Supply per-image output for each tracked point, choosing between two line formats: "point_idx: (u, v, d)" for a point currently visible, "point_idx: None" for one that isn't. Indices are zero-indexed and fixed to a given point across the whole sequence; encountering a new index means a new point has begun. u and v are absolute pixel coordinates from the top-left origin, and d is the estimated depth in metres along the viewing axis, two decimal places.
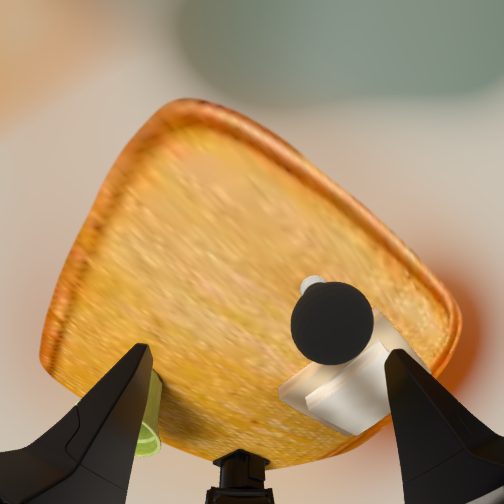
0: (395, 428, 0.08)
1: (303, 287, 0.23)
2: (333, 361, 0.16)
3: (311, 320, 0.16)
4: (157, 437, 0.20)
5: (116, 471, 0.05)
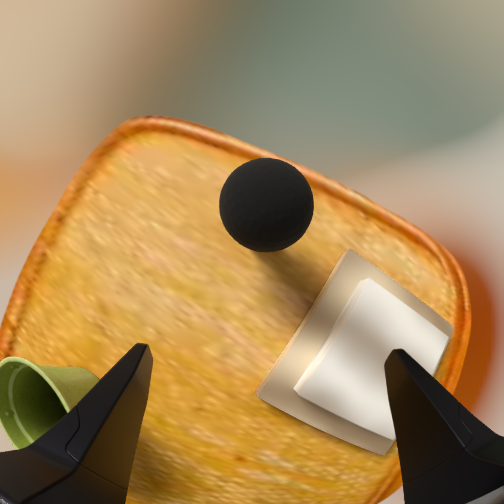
0: (395, 428, 0.08)
1: None
2: (267, 207, 0.14)
3: (230, 177, 0.16)
4: None
5: (116, 471, 0.05)
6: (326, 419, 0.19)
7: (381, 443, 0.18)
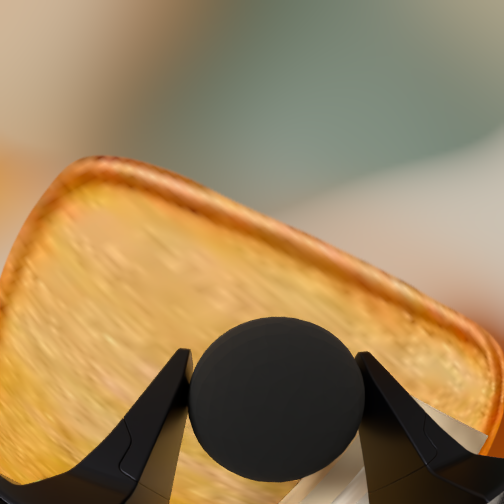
0: (360, 435, 0.08)
1: None
2: (280, 469, 0.05)
3: (202, 384, 0.07)
4: None
5: (163, 482, 0.05)
6: None
7: None
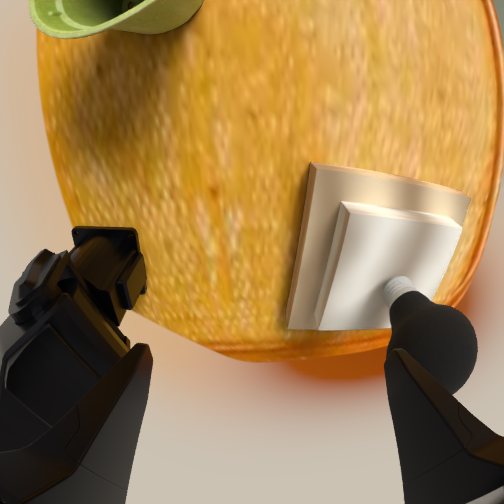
0: (395, 428, 0.08)
1: (407, 283, 0.17)
2: None
3: (472, 345, 0.10)
4: None
5: (116, 471, 0.05)
6: (316, 252, 0.20)
7: (301, 319, 0.23)
